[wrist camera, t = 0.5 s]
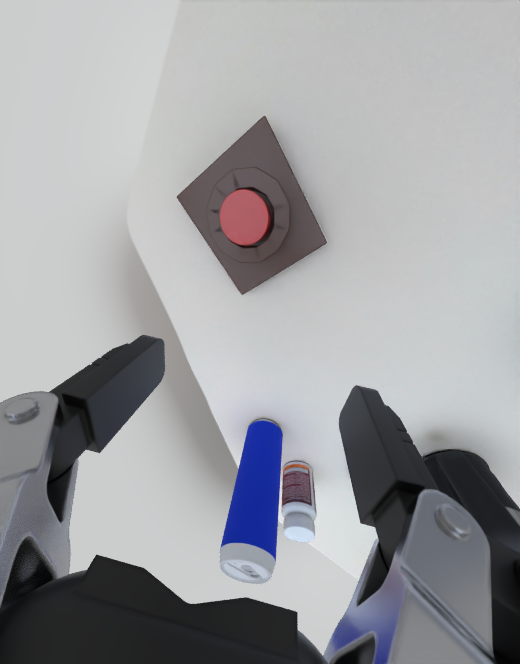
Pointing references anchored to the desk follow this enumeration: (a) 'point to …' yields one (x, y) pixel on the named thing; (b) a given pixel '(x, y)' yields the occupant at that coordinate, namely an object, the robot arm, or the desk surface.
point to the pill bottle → (298, 502)
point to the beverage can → (254, 507)
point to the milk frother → (477, 494)
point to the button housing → (277, 191)
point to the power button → (245, 217)
